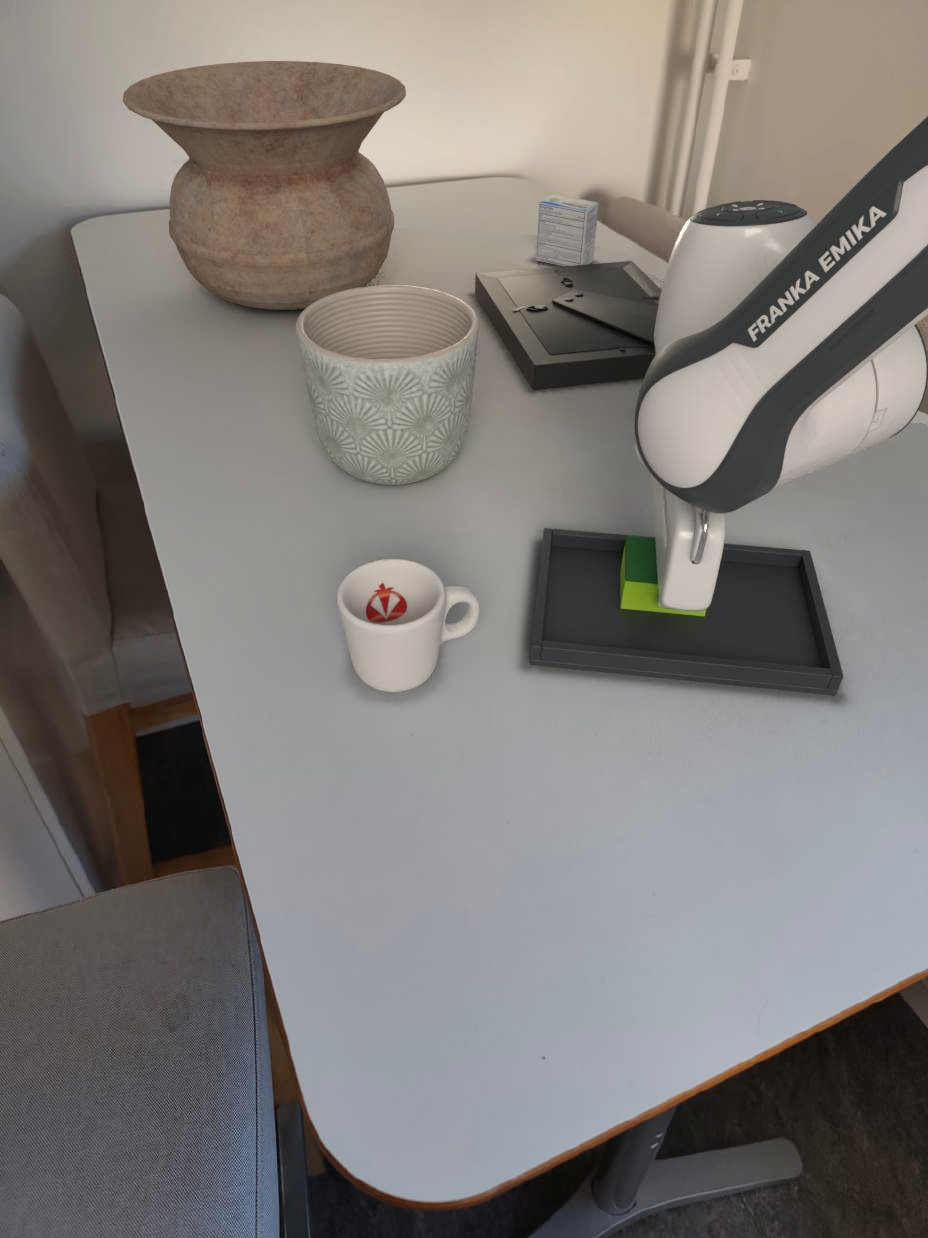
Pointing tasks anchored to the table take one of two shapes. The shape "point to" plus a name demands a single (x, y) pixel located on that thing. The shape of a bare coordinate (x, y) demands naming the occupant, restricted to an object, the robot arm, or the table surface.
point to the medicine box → (566, 231)
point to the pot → (274, 176)
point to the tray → (686, 619)
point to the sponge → (642, 577)
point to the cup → (399, 621)
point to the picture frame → (574, 321)
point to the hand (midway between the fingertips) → (665, 578)
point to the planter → (390, 379)
